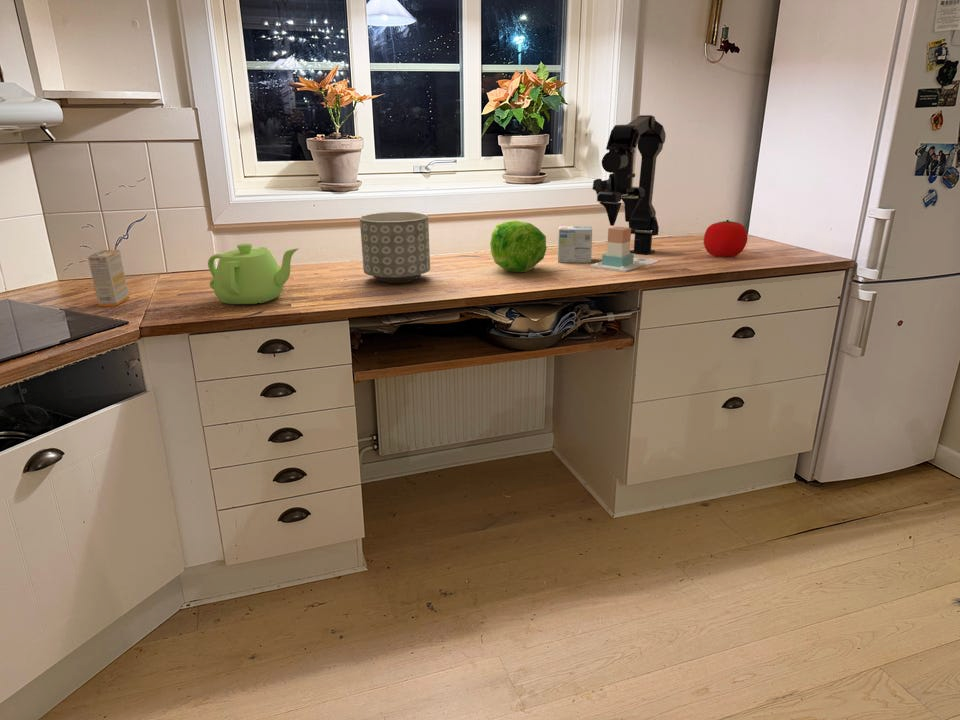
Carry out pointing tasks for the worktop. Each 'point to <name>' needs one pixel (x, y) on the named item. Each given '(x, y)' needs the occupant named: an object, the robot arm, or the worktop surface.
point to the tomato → (725, 239)
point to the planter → (395, 245)
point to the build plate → (623, 269)
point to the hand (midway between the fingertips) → (619, 223)
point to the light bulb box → (575, 244)
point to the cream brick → (618, 249)
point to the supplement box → (108, 277)
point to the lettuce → (517, 246)
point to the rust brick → (619, 234)
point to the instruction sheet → (644, 261)
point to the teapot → (249, 275)
